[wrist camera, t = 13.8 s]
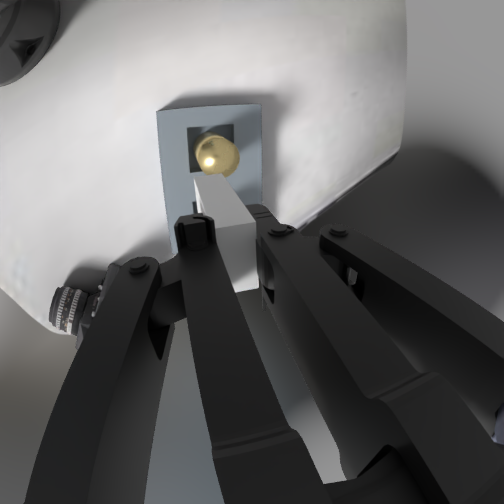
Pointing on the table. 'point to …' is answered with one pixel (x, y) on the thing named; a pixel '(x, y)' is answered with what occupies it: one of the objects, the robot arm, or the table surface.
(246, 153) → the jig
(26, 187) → the table surface
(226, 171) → the brass cylinder
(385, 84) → the table surface
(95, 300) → the camera
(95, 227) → the table surface
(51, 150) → the table surface
